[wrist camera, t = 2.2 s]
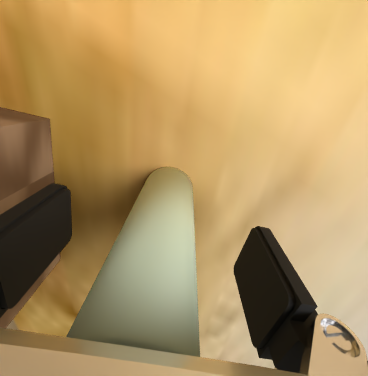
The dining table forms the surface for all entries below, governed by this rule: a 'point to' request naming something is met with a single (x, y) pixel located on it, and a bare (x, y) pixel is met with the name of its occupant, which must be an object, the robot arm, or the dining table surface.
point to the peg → (149, 274)
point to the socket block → (24, 173)
